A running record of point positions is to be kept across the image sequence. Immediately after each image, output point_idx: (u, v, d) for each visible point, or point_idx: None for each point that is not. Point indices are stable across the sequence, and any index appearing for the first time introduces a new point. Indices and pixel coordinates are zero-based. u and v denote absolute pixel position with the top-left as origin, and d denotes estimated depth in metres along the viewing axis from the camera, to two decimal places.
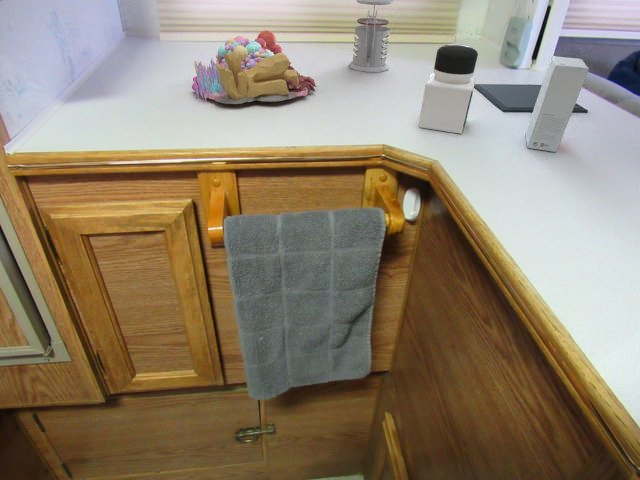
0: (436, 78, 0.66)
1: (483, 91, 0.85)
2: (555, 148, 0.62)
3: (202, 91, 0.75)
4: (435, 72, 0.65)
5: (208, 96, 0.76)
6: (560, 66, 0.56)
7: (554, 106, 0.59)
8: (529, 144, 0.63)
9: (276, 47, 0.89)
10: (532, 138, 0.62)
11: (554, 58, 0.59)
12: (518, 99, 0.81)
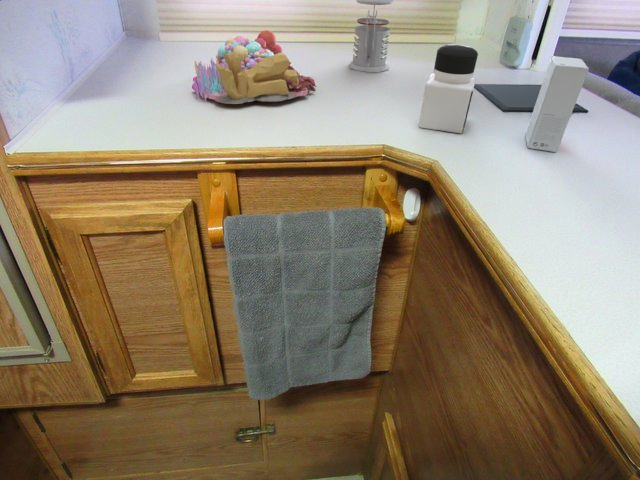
0: (436, 78, 0.66)
1: (483, 91, 0.85)
2: (555, 148, 0.62)
3: (202, 91, 0.75)
4: (435, 72, 0.65)
5: (208, 96, 0.76)
6: (560, 66, 0.56)
7: (554, 106, 0.59)
8: (529, 144, 0.63)
9: (276, 47, 0.89)
10: (532, 138, 0.62)
11: (554, 58, 0.59)
12: (518, 99, 0.81)
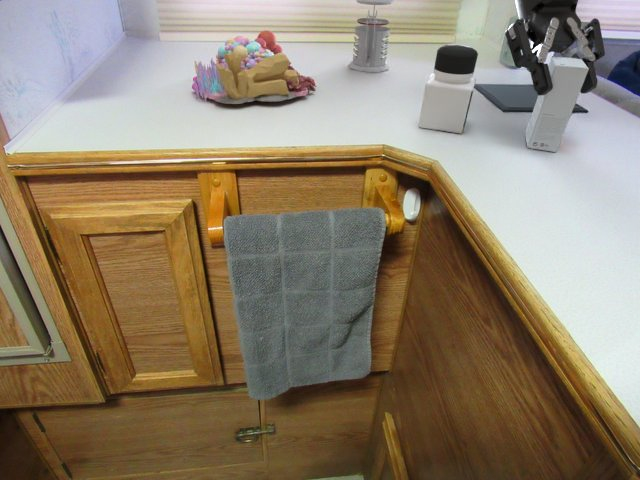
0: (436, 78, 0.66)
1: (483, 91, 0.85)
2: (555, 148, 0.62)
3: (202, 91, 0.75)
4: (435, 72, 0.65)
5: (208, 96, 0.76)
6: (560, 66, 0.56)
7: (554, 106, 0.59)
8: (529, 144, 0.63)
9: (276, 47, 0.89)
10: (532, 138, 0.62)
11: (554, 58, 0.59)
12: (518, 99, 0.81)
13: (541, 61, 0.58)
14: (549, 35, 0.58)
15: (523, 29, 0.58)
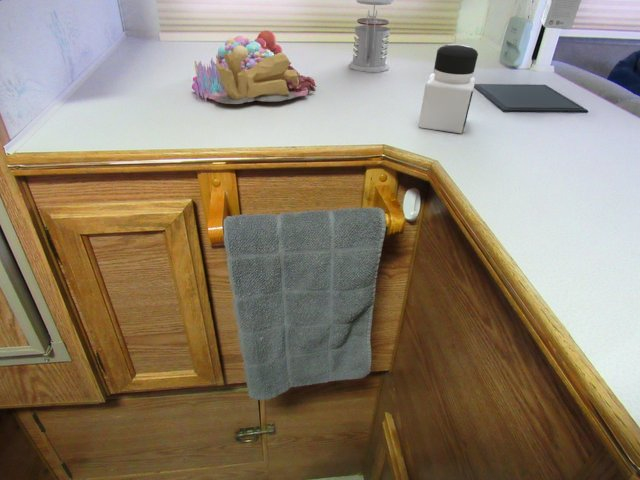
0: (436, 78, 0.66)
1: (483, 91, 0.85)
2: (570, 25, 0.67)
3: (202, 91, 0.75)
4: (435, 72, 0.65)
5: (208, 96, 0.76)
6: None
7: None
8: (545, 23, 0.68)
9: (276, 47, 0.89)
10: (548, 17, 0.68)
11: None
12: (518, 99, 0.81)
13: None
14: None
15: None
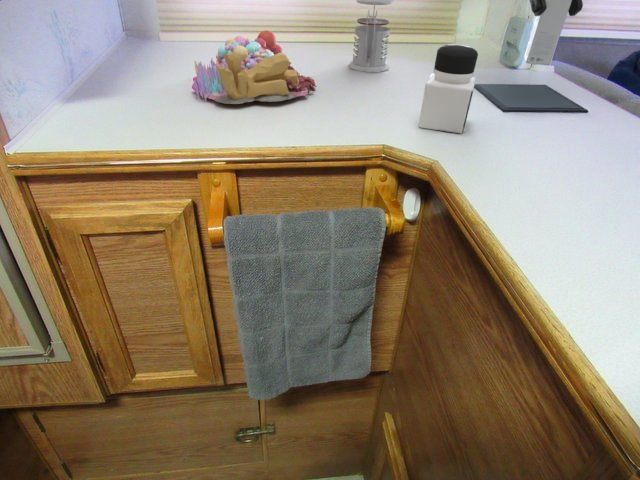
0: (436, 78, 0.66)
1: (483, 91, 0.85)
2: (548, 62, 0.77)
3: (202, 91, 0.75)
4: (435, 72, 0.65)
5: (208, 96, 0.76)
6: None
7: (547, 24, 0.73)
8: (527, 59, 0.77)
9: (276, 47, 0.89)
10: (529, 54, 0.77)
11: None
12: (518, 99, 0.81)
13: None
14: None
15: None
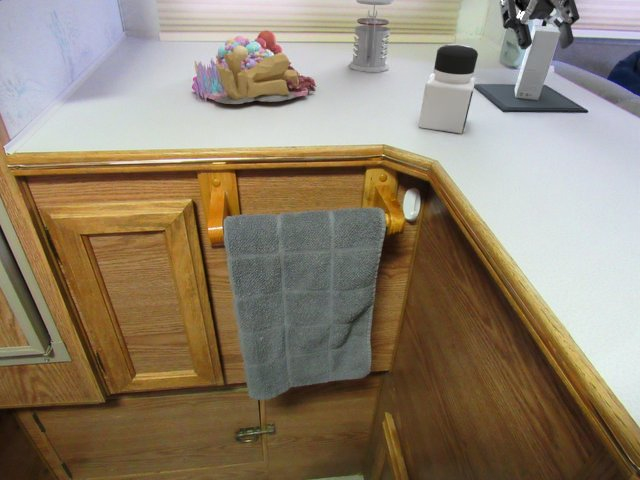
0: (436, 78, 0.66)
1: (483, 91, 0.85)
2: (537, 97, 0.80)
3: (202, 91, 0.75)
4: (435, 72, 0.65)
5: (208, 96, 0.76)
6: (539, 31, 0.75)
7: (535, 62, 0.77)
8: (517, 94, 0.81)
9: (276, 47, 0.89)
10: (519, 90, 0.81)
11: (535, 26, 0.78)
12: (518, 99, 0.81)
13: (523, 22, 0.75)
14: (531, 4, 0.75)
15: None
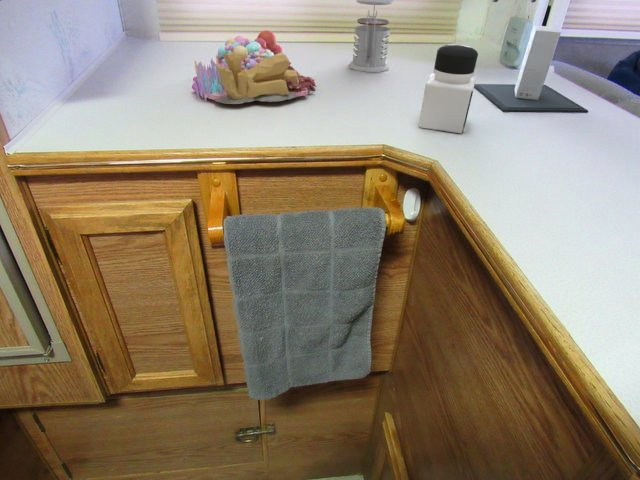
0: (436, 78, 0.66)
1: (483, 91, 0.85)
2: (537, 97, 0.80)
3: (202, 91, 0.75)
4: (435, 72, 0.65)
5: (208, 96, 0.76)
6: (539, 31, 0.75)
7: (535, 62, 0.77)
8: (517, 94, 0.81)
9: (276, 47, 0.89)
10: (519, 90, 0.81)
11: (535, 26, 0.78)
12: (518, 99, 0.81)
13: None
14: None
15: None
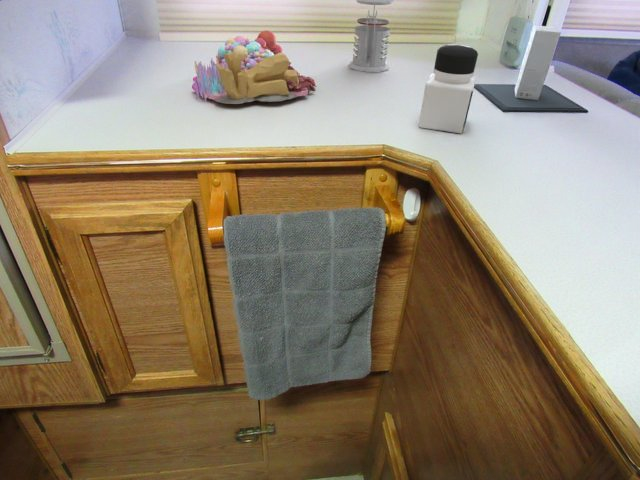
0: (436, 78, 0.66)
1: (483, 91, 0.85)
2: (537, 97, 0.80)
3: (202, 91, 0.75)
4: (435, 72, 0.65)
5: (208, 96, 0.76)
6: (539, 31, 0.75)
7: (535, 62, 0.77)
8: (517, 94, 0.81)
9: (276, 47, 0.89)
10: (519, 90, 0.81)
11: (535, 26, 0.78)
12: (518, 99, 0.81)
13: None
14: None
15: None
